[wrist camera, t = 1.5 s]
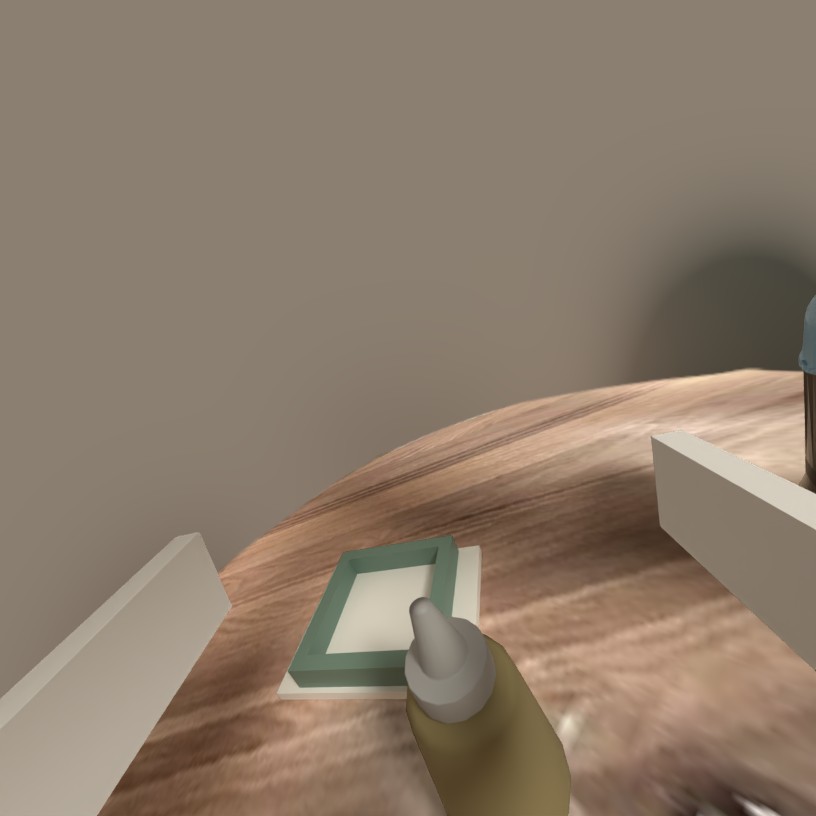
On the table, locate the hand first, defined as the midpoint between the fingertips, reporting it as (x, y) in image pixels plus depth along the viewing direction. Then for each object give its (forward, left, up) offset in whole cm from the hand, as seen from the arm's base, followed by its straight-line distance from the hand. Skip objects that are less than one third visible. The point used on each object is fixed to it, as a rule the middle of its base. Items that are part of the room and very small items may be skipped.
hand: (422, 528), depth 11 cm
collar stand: (+17, -18, -26) cm, 36 cm away
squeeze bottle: (+4, -4, -26) cm, 27 cm away
